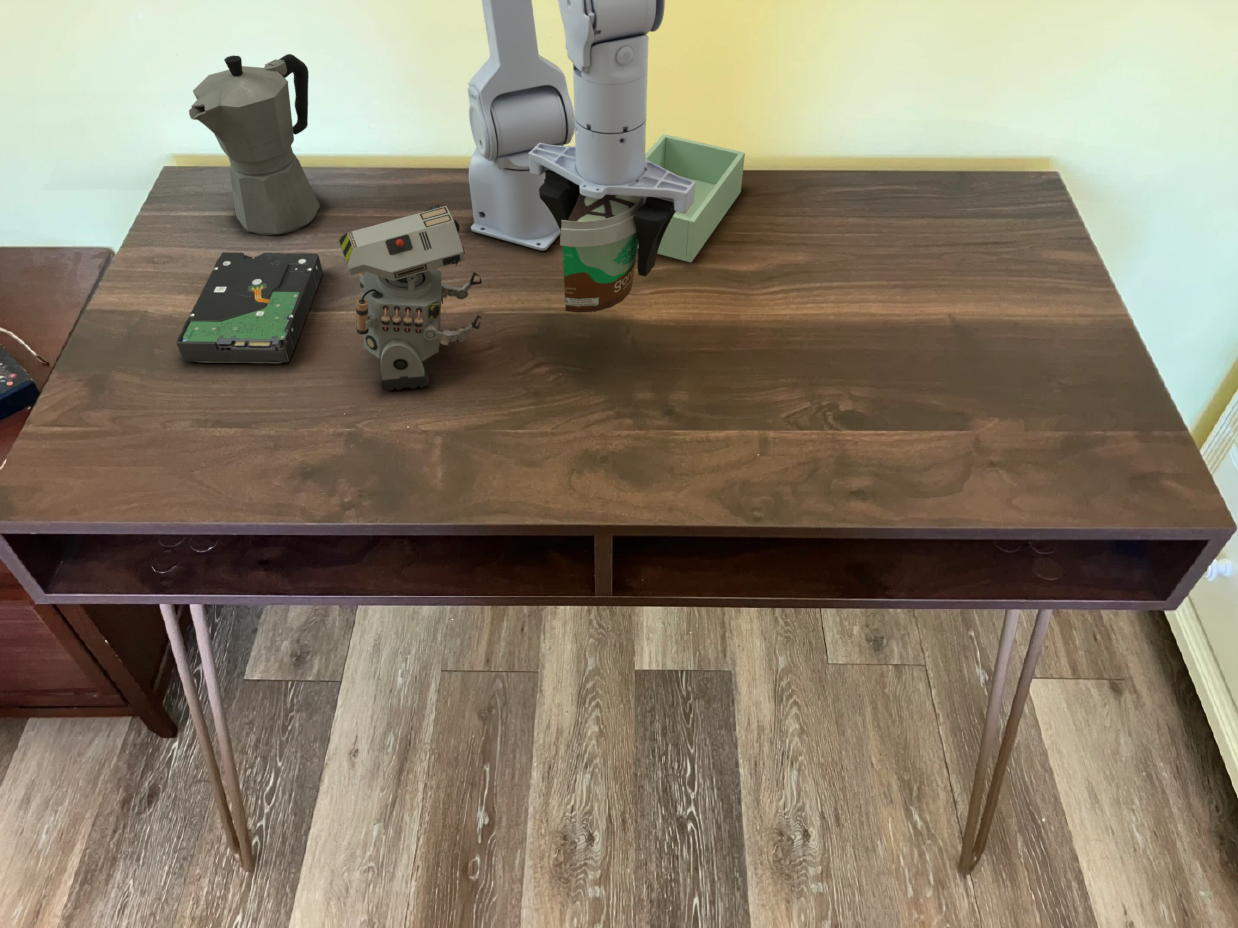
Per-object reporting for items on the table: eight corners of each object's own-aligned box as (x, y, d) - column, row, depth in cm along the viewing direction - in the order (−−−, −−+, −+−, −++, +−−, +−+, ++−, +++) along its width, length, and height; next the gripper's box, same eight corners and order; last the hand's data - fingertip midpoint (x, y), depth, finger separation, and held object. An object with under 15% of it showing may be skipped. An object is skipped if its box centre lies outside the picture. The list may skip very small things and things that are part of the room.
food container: (628, 333, 82) (634, 236, 75) (560, 321, 83) (559, 223, 75) (657, 253, 90) (664, 158, 83) (595, 243, 91) (597, 148, 83)
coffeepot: (265, 255, 101) (213, 93, 88) (205, 229, 105) (146, 70, 92) (362, 190, 110) (328, 35, 97) (304, 168, 114) (263, 15, 101)
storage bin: (605, 239, 104) (605, 199, 100) (661, 172, 113) (663, 133, 110) (691, 262, 101) (694, 221, 97) (740, 192, 110) (745, 152, 107)
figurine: (490, 383, 88) (472, 247, 77) (365, 394, 86) (329, 257, 75) (486, 323, 94) (470, 188, 83) (370, 332, 93) (337, 197, 82)
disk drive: (227, 274, 99) (183, 365, 89) (219, 251, 97) (173, 341, 87) (325, 274, 99) (292, 364, 89) (319, 251, 97) (284, 341, 87)
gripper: (505, 119, 74) (518, 262, 84) (674, 160, 70) (666, 306, 80) (548, 82, 78) (555, 222, 88) (709, 118, 74) (697, 262, 84)
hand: (610, 259), depth 84 cm, fingers closed on food container, 6 cm apart
